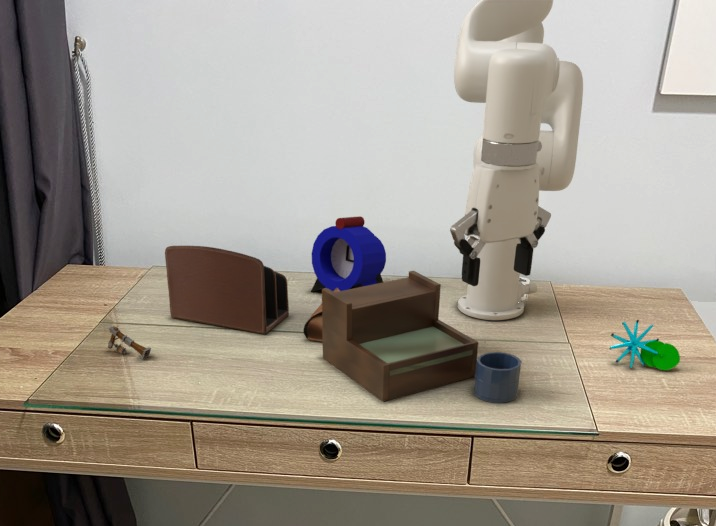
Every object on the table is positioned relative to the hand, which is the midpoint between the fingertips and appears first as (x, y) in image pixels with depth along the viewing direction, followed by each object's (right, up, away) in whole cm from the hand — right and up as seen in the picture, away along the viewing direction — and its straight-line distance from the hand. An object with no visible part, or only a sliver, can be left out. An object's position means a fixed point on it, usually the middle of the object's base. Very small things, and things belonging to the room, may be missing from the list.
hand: (496, 278), depth 127 cm
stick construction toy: (+28, -8, +20) cm, 35 cm away
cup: (+1, -15, +9) cm, 18 cm away
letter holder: (-44, +3, +34) cm, 56 cm away
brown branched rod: (-59, -7, +20) cm, 63 cm away
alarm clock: (-22, +11, +46) cm, 52 cm away
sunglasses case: (-24, +1, +32) cm, 40 cm away
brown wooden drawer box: (-14, -10, +17) cm, 24 cm away
